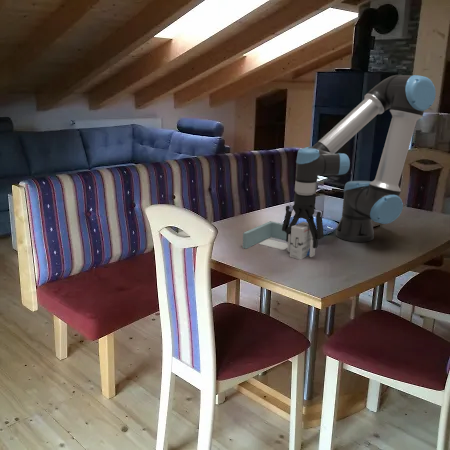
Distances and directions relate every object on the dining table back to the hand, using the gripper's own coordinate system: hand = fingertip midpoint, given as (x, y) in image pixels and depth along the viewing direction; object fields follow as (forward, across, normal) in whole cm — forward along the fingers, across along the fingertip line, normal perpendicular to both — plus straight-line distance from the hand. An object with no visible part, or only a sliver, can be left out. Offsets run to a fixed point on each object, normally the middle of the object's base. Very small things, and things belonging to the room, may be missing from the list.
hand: (300, 253), depth 185 cm
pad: (+1, +13, -4) cm, 14 cm away
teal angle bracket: (+1, +11, -3) cm, 11 cm away
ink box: (+1, 0, 0) cm, 1 cm away
